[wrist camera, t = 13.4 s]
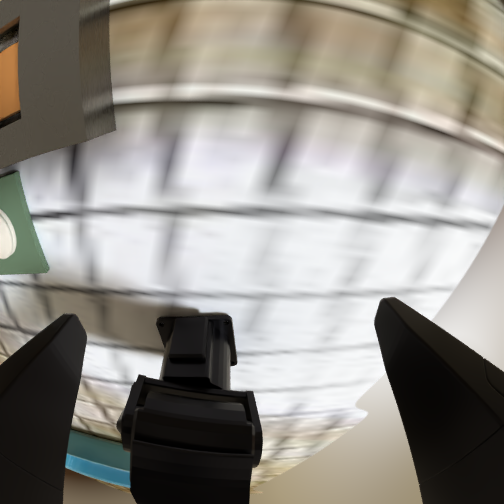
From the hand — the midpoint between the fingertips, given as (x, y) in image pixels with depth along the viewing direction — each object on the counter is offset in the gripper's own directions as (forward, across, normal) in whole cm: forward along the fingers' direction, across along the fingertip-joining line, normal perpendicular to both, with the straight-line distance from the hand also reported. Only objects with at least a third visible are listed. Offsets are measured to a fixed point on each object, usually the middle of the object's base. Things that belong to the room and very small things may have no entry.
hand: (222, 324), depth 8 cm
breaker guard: (+12, +15, -10) cm, 22 cm away
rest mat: (+12, +21, +1) cm, 24 cm away
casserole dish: (+12, +31, +52) cm, 62 cm away
